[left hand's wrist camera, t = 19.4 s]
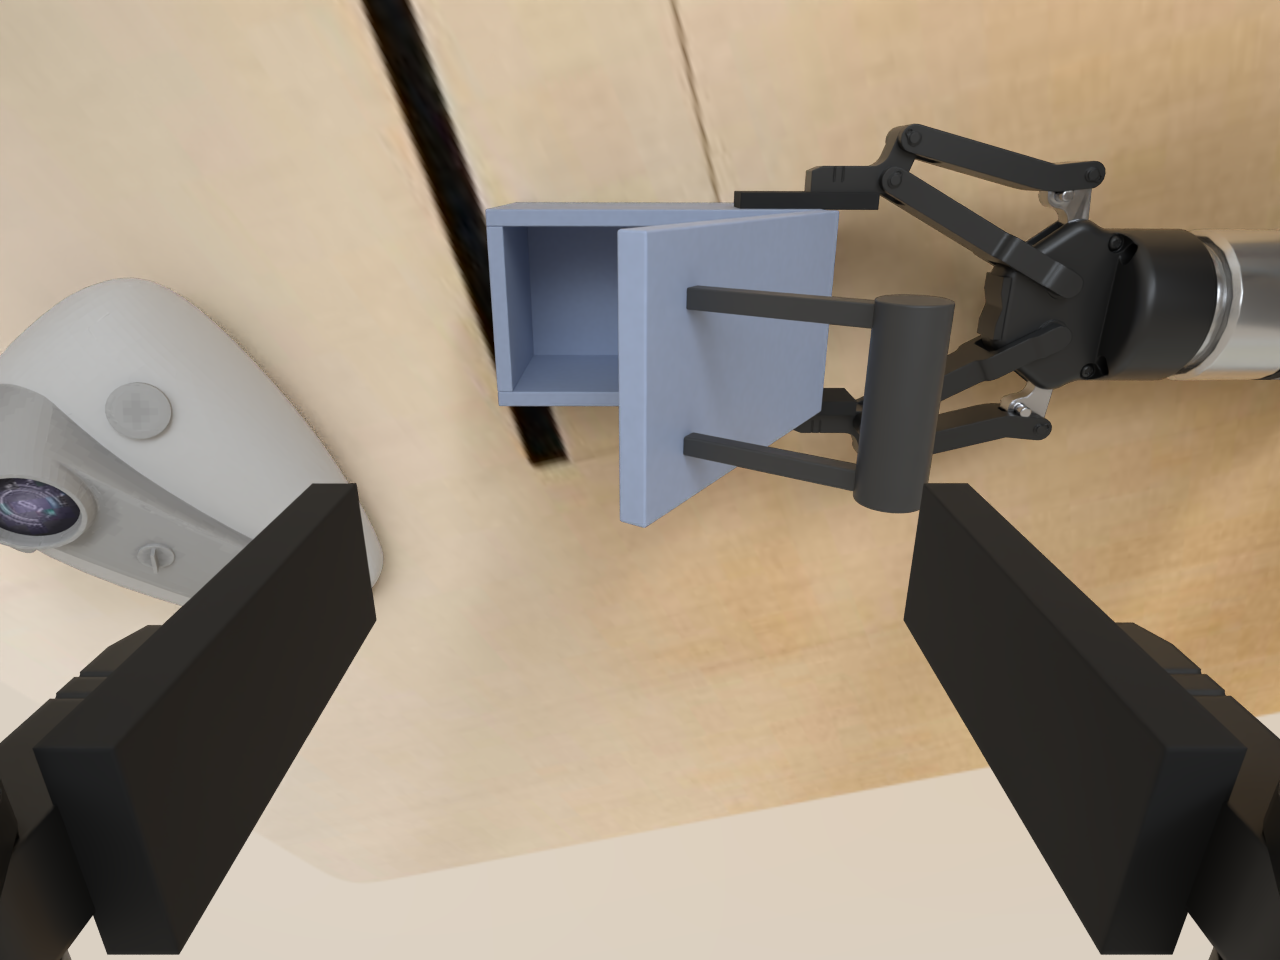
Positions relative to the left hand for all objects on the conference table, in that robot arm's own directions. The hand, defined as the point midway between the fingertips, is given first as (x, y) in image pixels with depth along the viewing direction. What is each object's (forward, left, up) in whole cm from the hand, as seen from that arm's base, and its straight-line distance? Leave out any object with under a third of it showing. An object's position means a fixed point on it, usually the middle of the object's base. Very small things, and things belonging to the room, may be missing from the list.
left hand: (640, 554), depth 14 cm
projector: (-21, -20, -35) cm, 45 cm away
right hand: (+4, +2, -28) cm, 28 cm away
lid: (+3, +1, -18) cm, 19 cm away
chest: (+1, 0, -35) cm, 35 cm away
